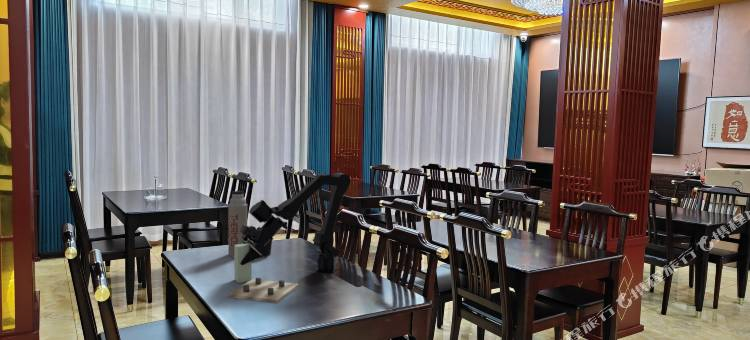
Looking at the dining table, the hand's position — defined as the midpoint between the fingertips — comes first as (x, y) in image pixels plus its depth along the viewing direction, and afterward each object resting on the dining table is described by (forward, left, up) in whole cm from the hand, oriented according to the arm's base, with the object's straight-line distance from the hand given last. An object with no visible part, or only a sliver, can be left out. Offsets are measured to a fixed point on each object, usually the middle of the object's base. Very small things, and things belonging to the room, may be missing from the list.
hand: (239, 262), depth 194 cm
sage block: (-1, -1, -7) cm, 7 cm away
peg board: (-14, +8, -7) cm, 18 cm away
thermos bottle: (+19, -34, -7) cm, 40 cm away
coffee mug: (+9, -39, -7) cm, 41 cm away
